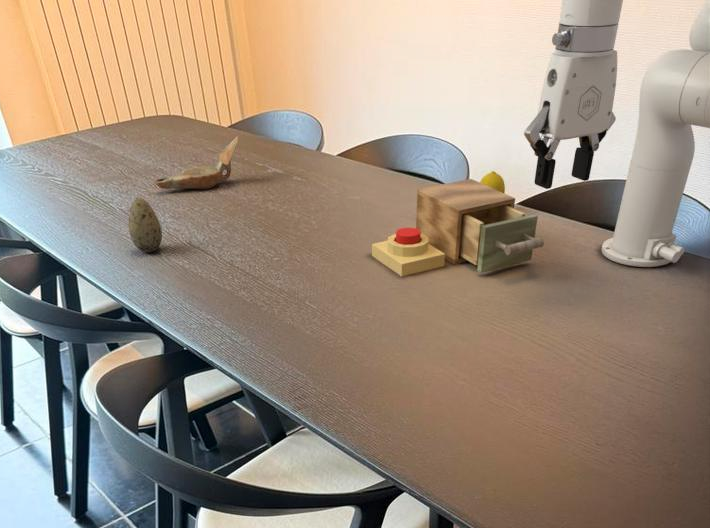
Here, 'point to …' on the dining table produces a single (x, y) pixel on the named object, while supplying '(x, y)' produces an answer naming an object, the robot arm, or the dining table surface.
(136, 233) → the decorative egg
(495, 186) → the lemon
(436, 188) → the cabinet
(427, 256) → the button box
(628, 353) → the dining table surface
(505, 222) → the drawer
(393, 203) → the dining table surface
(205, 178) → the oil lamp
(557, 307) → the dining table surface
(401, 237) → the red button
